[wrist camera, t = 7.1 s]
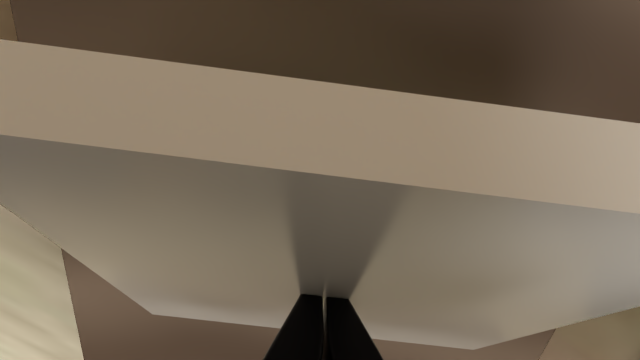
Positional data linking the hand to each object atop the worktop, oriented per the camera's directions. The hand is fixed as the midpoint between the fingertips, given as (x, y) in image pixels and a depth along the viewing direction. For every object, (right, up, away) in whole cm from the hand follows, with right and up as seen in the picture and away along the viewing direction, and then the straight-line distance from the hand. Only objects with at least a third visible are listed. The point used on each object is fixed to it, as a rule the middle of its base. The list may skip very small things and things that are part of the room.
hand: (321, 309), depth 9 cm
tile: (0, 0, -1) cm, 1 cm away
